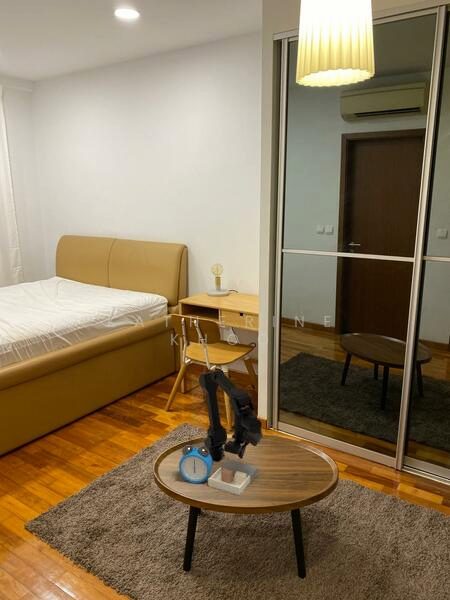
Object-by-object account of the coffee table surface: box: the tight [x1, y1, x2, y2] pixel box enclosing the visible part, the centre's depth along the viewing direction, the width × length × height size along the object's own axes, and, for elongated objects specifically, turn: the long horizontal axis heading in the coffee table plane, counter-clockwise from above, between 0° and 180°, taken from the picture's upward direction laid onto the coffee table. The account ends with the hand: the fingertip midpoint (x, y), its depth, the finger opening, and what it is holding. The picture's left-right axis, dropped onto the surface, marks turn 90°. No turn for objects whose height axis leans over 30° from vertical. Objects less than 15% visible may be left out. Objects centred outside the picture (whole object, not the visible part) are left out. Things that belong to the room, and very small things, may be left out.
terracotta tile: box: [221, 469, 233, 483], centre depth 188 cm, size 4×4×2 cm
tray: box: [207, 466, 251, 496], centre depth 186 cm, size 14×10×4 cm
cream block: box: [235, 471, 247, 485], centre depth 186 cm, size 4×4×2 cm
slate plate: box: [220, 458, 259, 483], centre depth 194 cm, size 14×8×2 cm, turn 62°
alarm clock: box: [178, 444, 214, 484], centre depth 189 cm, size 13×6×15 cm, turn 79°
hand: (241, 458), depth 187 cm, fingers closed
